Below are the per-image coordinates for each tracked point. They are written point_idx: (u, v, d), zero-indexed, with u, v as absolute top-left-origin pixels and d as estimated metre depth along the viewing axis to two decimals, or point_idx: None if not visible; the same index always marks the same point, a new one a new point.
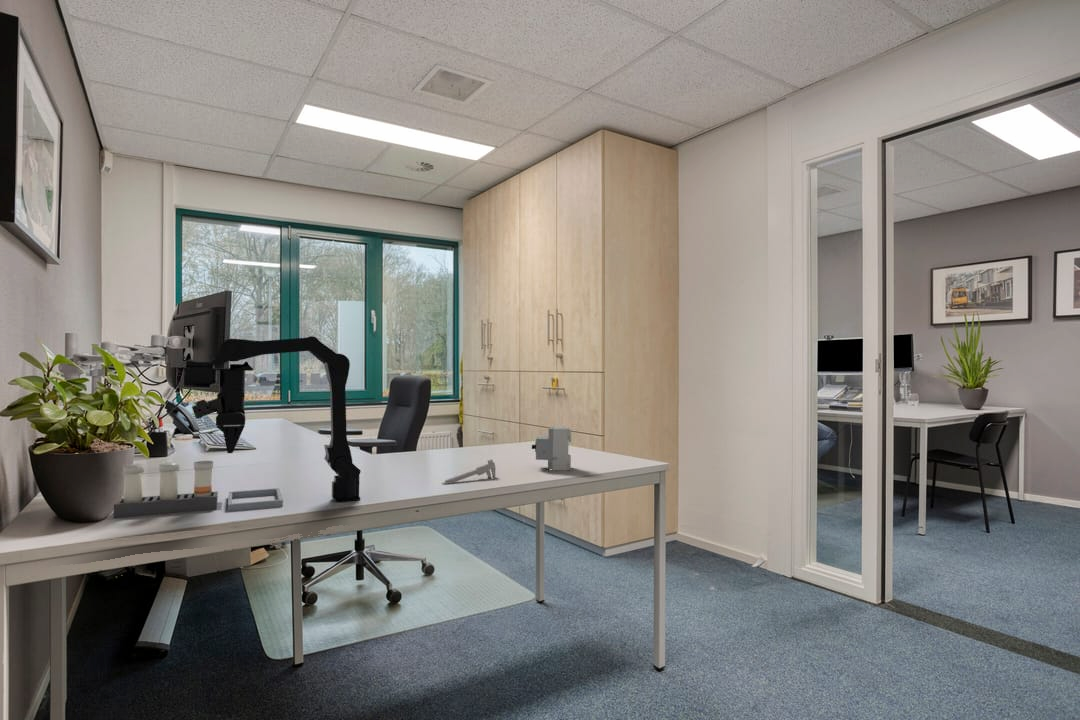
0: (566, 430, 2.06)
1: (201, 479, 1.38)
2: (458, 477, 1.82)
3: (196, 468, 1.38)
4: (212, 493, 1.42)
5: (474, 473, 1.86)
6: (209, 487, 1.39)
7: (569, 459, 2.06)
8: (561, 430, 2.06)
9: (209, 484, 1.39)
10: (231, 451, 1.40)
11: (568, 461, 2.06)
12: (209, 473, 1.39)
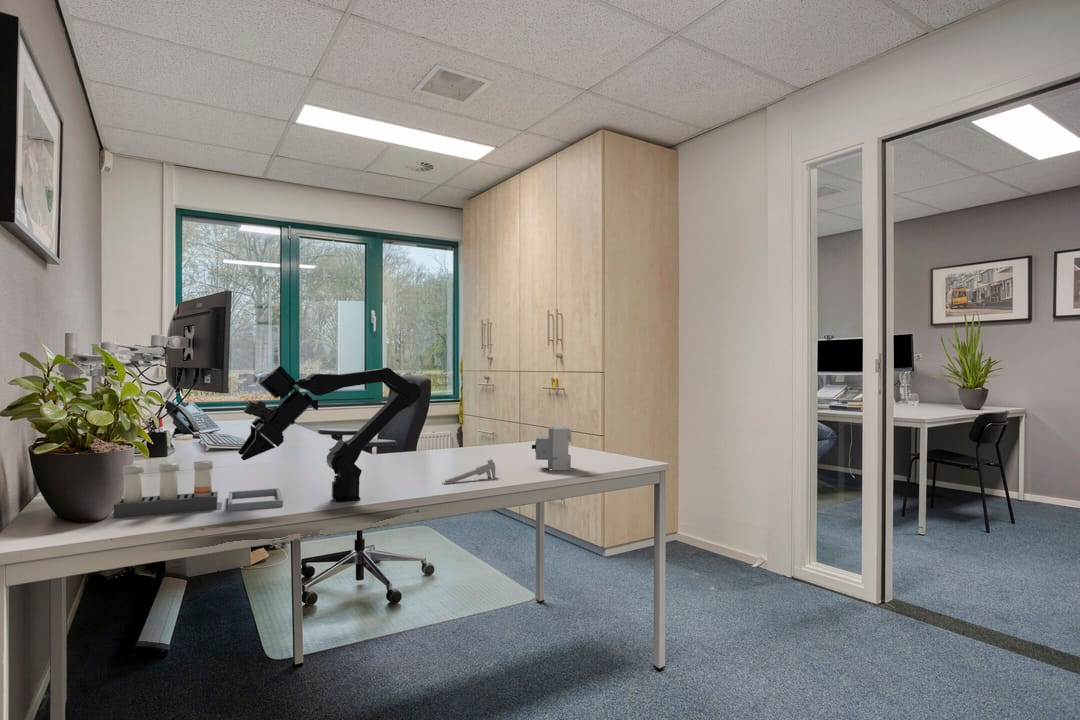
0: (566, 430, 2.06)
1: (201, 479, 1.38)
2: (458, 477, 1.82)
3: (196, 468, 1.38)
4: (212, 493, 1.42)
5: (474, 473, 1.86)
6: (209, 487, 1.39)
7: (569, 459, 2.06)
8: (561, 430, 2.06)
9: (209, 484, 1.39)
10: (244, 458, 1.40)
11: (568, 461, 2.06)
12: (209, 473, 1.39)
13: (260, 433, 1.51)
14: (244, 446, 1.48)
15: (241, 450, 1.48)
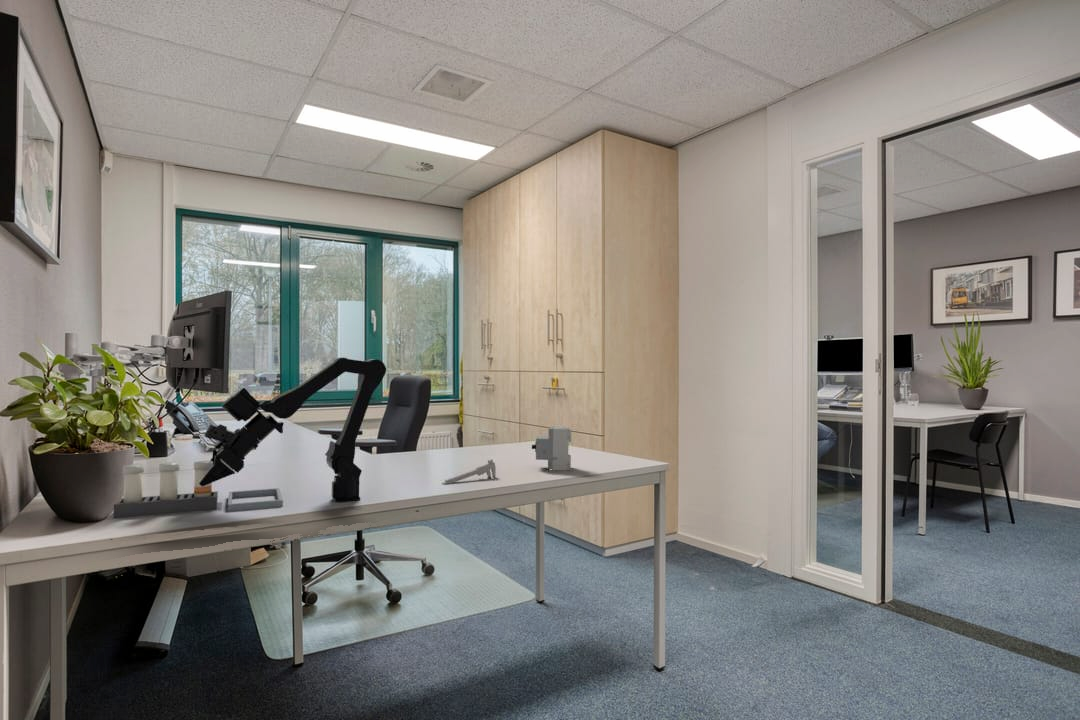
0: (566, 430, 2.06)
1: (201, 479, 1.38)
2: (458, 477, 1.82)
3: (196, 468, 1.38)
4: (212, 493, 1.42)
5: (474, 473, 1.86)
6: (209, 487, 1.39)
7: (569, 459, 2.06)
8: (561, 430, 2.06)
9: (209, 484, 1.39)
10: (203, 484, 1.35)
11: (568, 461, 2.06)
12: None
13: None
14: None
15: None
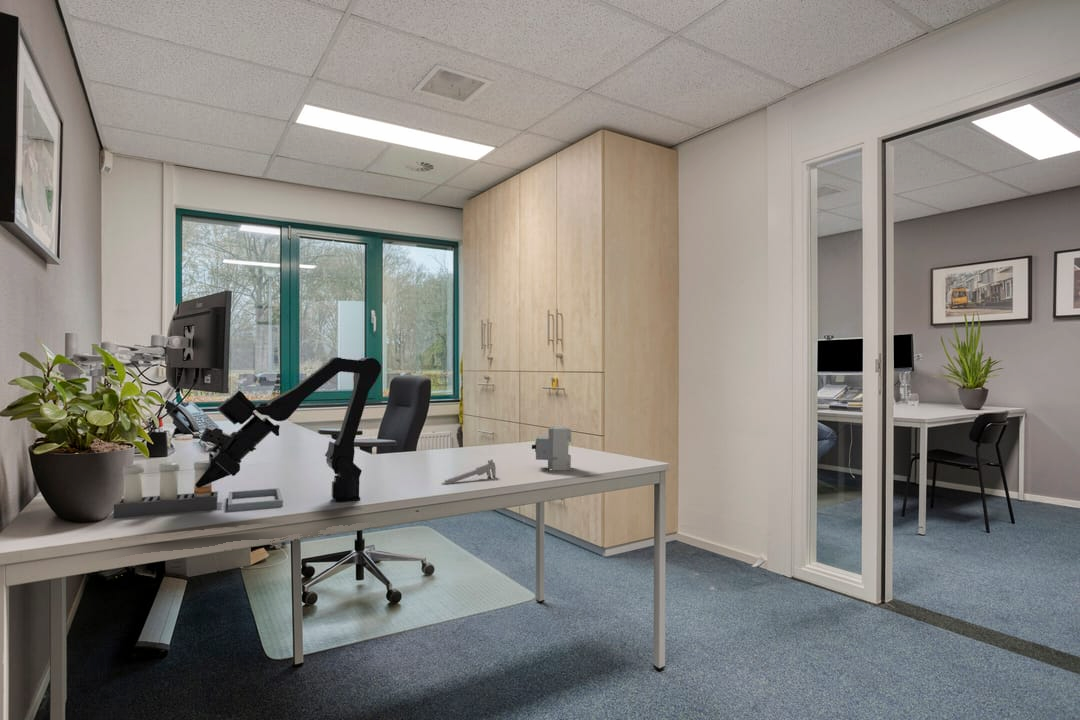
0: (566, 430, 2.06)
1: None
2: (458, 477, 1.82)
3: (196, 468, 1.38)
4: (212, 493, 1.42)
5: (474, 473, 1.86)
6: (209, 487, 1.39)
7: (569, 459, 2.06)
8: (561, 430, 2.06)
9: (209, 484, 1.39)
10: (199, 486, 1.37)
11: (568, 461, 2.06)
12: None
13: None
14: None
15: None
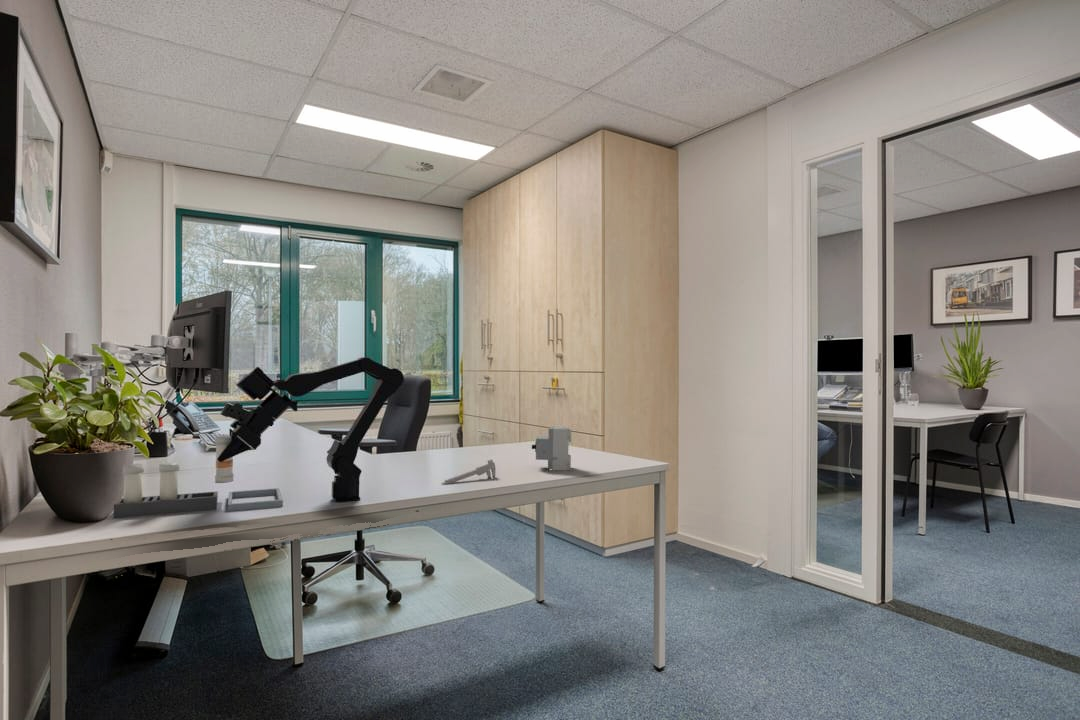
0: (566, 430, 2.06)
1: None
2: (458, 477, 1.82)
3: (217, 443, 1.40)
4: (212, 493, 1.42)
5: (474, 473, 1.86)
6: (230, 461, 1.42)
7: (569, 459, 2.06)
8: (561, 430, 2.06)
9: (230, 458, 1.42)
10: (221, 460, 1.40)
11: (568, 461, 2.06)
12: None
13: None
14: None
15: None
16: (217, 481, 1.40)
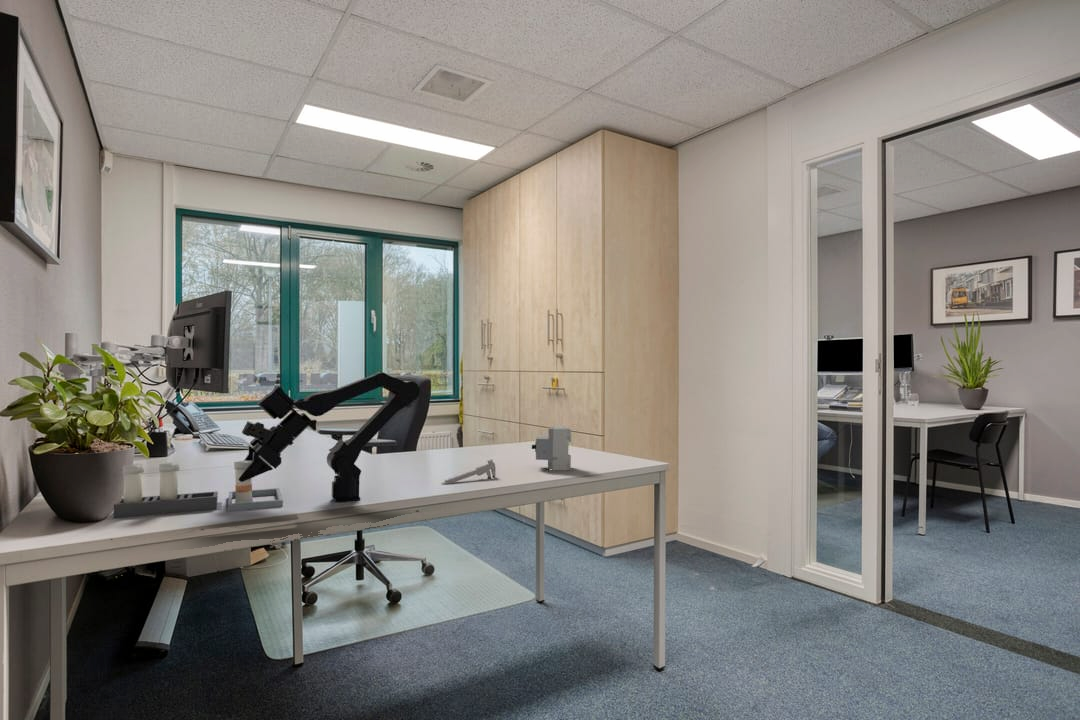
0: (566, 430, 2.06)
1: None
2: (458, 477, 1.82)
3: (237, 468, 1.43)
4: (212, 493, 1.42)
5: (474, 473, 1.86)
6: (250, 486, 1.44)
7: (569, 459, 2.06)
8: (561, 430, 2.06)
9: (250, 483, 1.44)
10: (242, 480, 1.40)
11: (568, 461, 2.06)
12: None
13: (258, 453, 1.51)
14: None
15: None
16: None
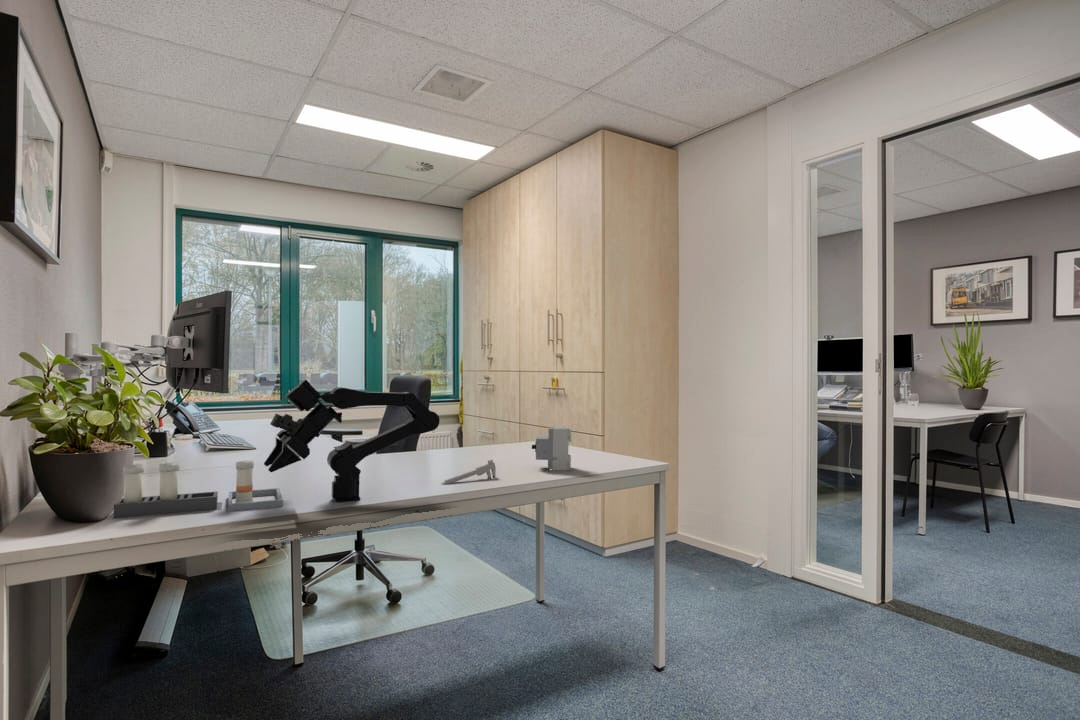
0: (566, 430, 2.06)
1: (243, 478, 1.43)
2: (458, 477, 1.82)
3: (238, 468, 1.43)
4: (212, 493, 1.42)
5: (474, 473, 1.86)
6: (250, 486, 1.44)
7: (569, 459, 2.06)
8: (561, 430, 2.06)
9: (250, 483, 1.44)
10: (272, 470, 1.44)
11: (568, 461, 2.06)
12: (250, 472, 1.44)
13: (285, 445, 1.54)
14: (270, 458, 1.52)
15: (267, 462, 1.51)
16: None
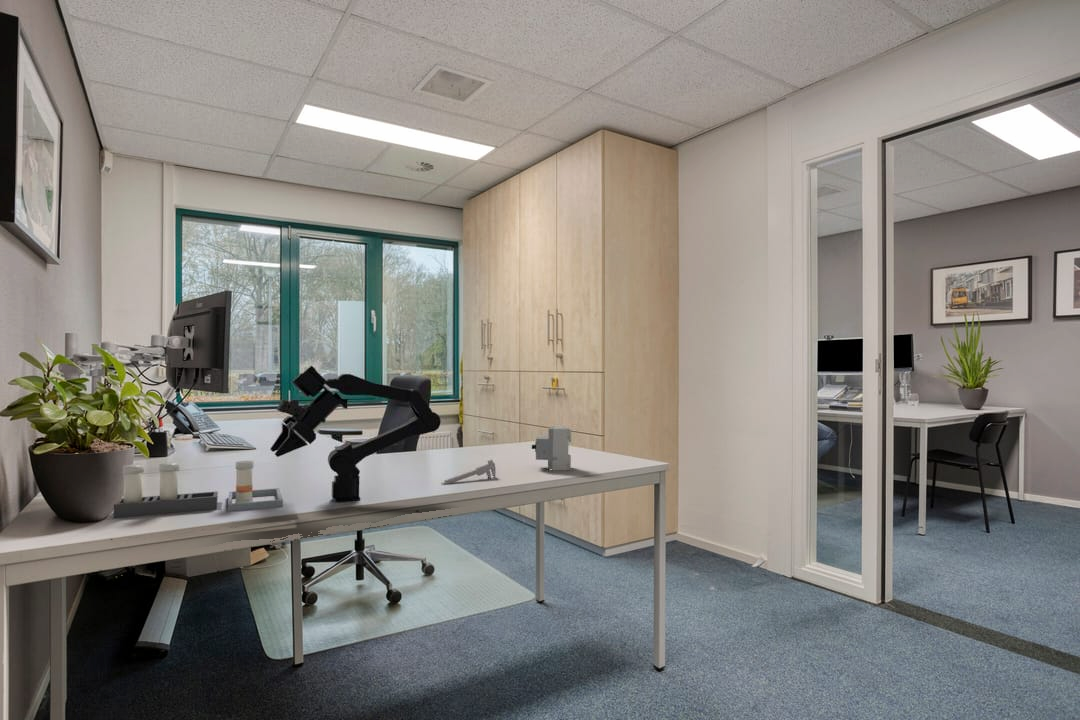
0: (566, 430, 2.06)
1: (243, 478, 1.43)
2: (458, 477, 1.82)
3: (238, 468, 1.43)
4: (212, 493, 1.42)
5: (474, 473, 1.86)
6: (250, 486, 1.44)
7: (569, 459, 2.06)
8: (561, 430, 2.06)
9: (250, 483, 1.44)
10: (278, 455, 1.45)
11: (568, 461, 2.06)
12: (250, 472, 1.44)
13: None
14: (276, 443, 1.53)
15: (273, 447, 1.52)
16: None
